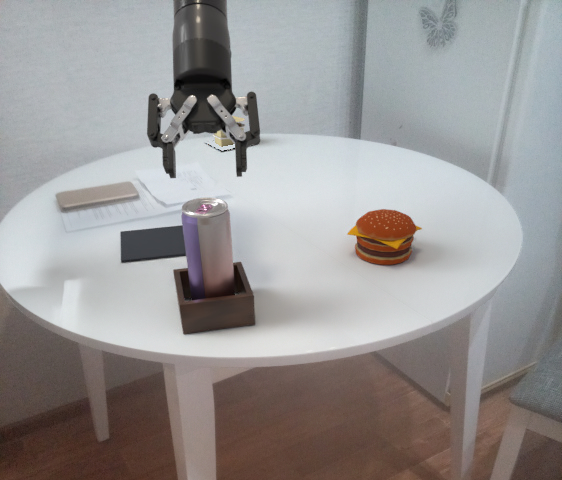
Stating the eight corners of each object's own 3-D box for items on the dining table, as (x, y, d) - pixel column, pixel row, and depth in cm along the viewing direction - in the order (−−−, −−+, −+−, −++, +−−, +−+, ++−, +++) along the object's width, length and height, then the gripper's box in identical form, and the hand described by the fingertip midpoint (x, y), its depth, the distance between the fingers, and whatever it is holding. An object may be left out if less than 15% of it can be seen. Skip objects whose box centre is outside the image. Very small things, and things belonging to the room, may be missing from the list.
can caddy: (183, 334, 73) (179, 305, 70) (177, 297, 80) (173, 269, 77) (255, 324, 75) (254, 295, 72) (242, 289, 82) (241, 261, 79)
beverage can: (186, 319, 76) (172, 213, 66) (201, 296, 80) (190, 194, 71) (228, 324, 75) (220, 217, 65) (241, 302, 79) (235, 198, 70)
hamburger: (343, 256, 90) (346, 217, 86) (371, 235, 96) (374, 197, 92) (397, 272, 86) (402, 231, 81) (422, 249, 92) (428, 210, 88)
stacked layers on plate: (221, 152, 131) (219, 127, 127) (203, 142, 137) (201, 118, 133) (257, 144, 135) (256, 120, 132) (238, 135, 141) (237, 112, 138)
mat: (121, 262, 89) (120, 260, 88) (120, 233, 97) (120, 231, 97) (190, 255, 90) (190, 252, 90) (184, 227, 99) (184, 225, 99)
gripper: (140, 36, 69) (143, 162, 67) (256, 34, 69) (261, 159, 68) (152, 75, 76) (155, 189, 75) (256, 73, 77) (261, 186, 75)
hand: (205, 174), depth 71 cm, fingers open, 8 cm apart
